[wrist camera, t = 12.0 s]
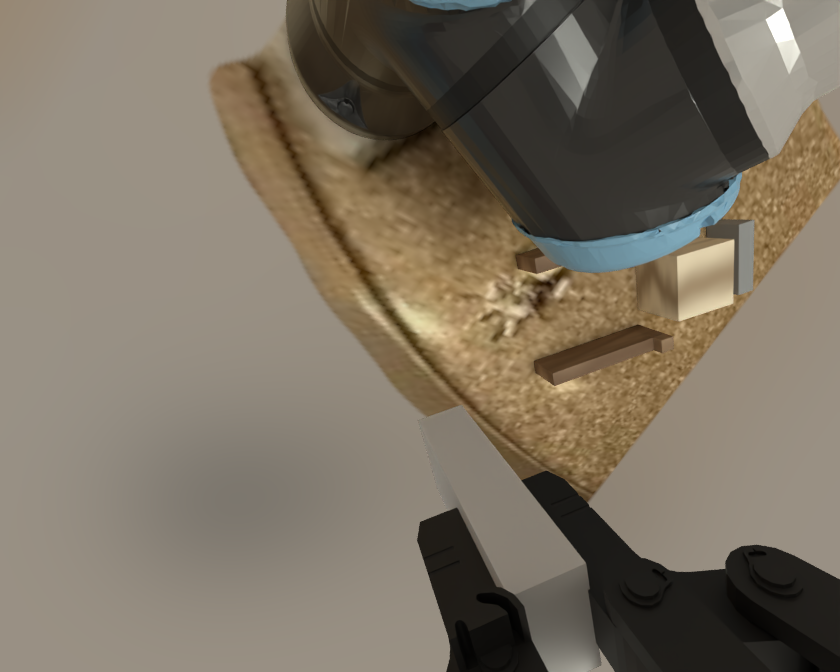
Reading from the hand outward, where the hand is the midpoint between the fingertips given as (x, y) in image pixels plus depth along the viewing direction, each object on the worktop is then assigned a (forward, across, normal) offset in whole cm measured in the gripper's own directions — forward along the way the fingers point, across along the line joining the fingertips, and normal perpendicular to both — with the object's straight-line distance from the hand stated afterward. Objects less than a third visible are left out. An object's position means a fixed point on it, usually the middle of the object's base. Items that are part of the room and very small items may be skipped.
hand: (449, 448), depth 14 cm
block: (+30, +35, -8) cm, 46 cm away
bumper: (+29, +42, -8) cm, 52 cm away
